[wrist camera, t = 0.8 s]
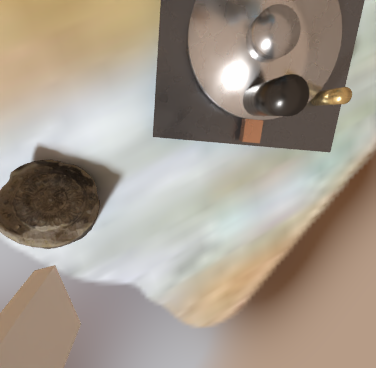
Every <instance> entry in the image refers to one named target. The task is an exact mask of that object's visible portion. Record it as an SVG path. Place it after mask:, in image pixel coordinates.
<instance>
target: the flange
mask: <svg viewBox="0 0 376 368" xmlns="http://www.w3.org/2000/svg"><path fill="white" fill-rule="evenodd" d="M341 39H342V16H341V10H340V5H339V2H338V0H196V1H195V4H194V7H193V10H192V14H191V18H190V22H189V28H188V55H189V60H190V64H191V68H192V71H193V73H194V76H195V78H196V80H197V82H198V84H199V86H200V87H201V89H202V90H203V92H204V93H205V94H206V95H207V97H208V98H209V99H210V100H211V101H212V102H213V103H214V104H216V105H217V106H218V107H219V108H221V109H222V110H224V111H226V112H228V113H230V114H232V115H234V116H237V117H240V118H245V119H242V124H241V131H240V138H239V141H242V142H250V143H260V139H261V133H262V127H263V120H268V119H275V118H279V117H283V116H293V115H296V114H298V113H299V112H301V111H302V110H303V109H304V108H305V106H306V105H307V103H308V102H309V101H310V100H311V99H312V98H313V97H315V96H316V94H317V93H318V92H319V91H320V90H321V89H322V87H323V86H324V84H325V83H326V81H327V80H328V78H329V76H330V75H331V73H332V71H333V69H334V66H335V64H336V61H337V58H338V54H339V51H340V46H341Z"/></svg>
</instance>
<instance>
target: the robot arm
mask: <svg viewBox="0 0 376 368" xmlns="http://www.w3.org/2000/svg"><path fill="white" fill-rule="evenodd" d="M80 325H81V323H80V320H79V318H78V316H77V314H76V311H75V309H74V307H73V305H72V302H71V300H70V298H69V296H68V294H67V291H66V289H65V287H64V284H63V282H62V280H61V278H60V275H59V273H58V271H57V269H56V266H55V265H54V266H50V267H46V268H42V269H38V270H35V271H34V272H33V273H32V275H31V276H30V277H29V278H28V280H27V281H26V282H25V283H24V284H23V286H22V287H21V288H20V290H19V291H18V292H17V293H16V294H15V295H14V297H13V298H12V299H11V300H10V302H9V303H8V304H7V305H6V307H5V308H4V309H3V310H2V312H1V313H0V368H64V366H65V363H66V361H67V358H68V356H69V353H70V350H71V348H72V345H73V343H74V340H75V338H76V335H77V333H78V330H79V328H80Z"/></svg>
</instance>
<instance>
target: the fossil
mask: <svg viewBox="0 0 376 368" xmlns="http://www.w3.org/2000/svg"><path fill="white" fill-rule="evenodd" d="M99 206H100V202H99V198H98V194H97V188H96V184H95V181H94V179H93V178H92V177H91V176H90V175H89V174H88V173H87V172H85V171H84V170H83V169H82V168H80V167H78V166H76V165H71V164H64V163H61V162H60V161H54V160H40V161H34V162H31V163H27V164H25V165H22V166H20V167H19V168H17V169H15V170H14V171H13V172H11V175H10V179H9V181H8V182H7V184H6V185H4V186H3V187H2V189H1V190H0V232H1V233H2V234H3V235H5V236H6V237H8V238H10V239H11V240H13V241H15V242H17V243H19V244H23V245H27V246H31V247H40V248H45V249H51V248H57V247H61V246H64V245H67V244H70V243H72V242H75V241H76V240H79V239H81V238H83V237H84V236H85V235H86V234H87V233H88V232H89V231H90V230H91V229H92V227H93V224H94V221H95V219H96V217H97V215H98V211H99Z"/></svg>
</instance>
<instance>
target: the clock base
mask: <svg viewBox="0 0 376 368" xmlns="http://www.w3.org/2000/svg"><path fill="white" fill-rule="evenodd" d="M195 1H196V0H161V8H160V25H159V41H158V58H157V75H156V92H155V109H154V126H153V137H160V138H172V139H183V140H195V141H206V142H218V143H229V144H241V145H252V146H264V147H276V148H287V149H299V150H310V151H322V152H330V151H331V147H332V142H333V138H334V133H335V129H336V124H337V120H338V116H339V111H340V107H341V104H346V103H348V102H349V101H350V99H351V97H352V91H351V90H350V89H349V88H348V87H345V84H346V80H347V76H348V71H349V67H350V62H351V58H352V53H353V49H354V44H355V40H356V36H357V31H358V27H359V22H360V18H361V13H362V9H363V4H364V0H338V2H339V5H340V10H341V16H342V39H341V46H340V51H339V54H338V58H337V61H336V64H335V66H334V69H333V71H332V73H331V75H330V76H329V78H328V80H327V81H326V83H325V84H324V86H323V87H322V89H321V90H320V91H319V92H318V93H317V94H316V96H315V97H313V98H312V99H311V100H310V101H309V102H308V103H307V105H306V106H305V108H304V109H303V110H302V111H301V112H299V113H298V114H296V115H293V116H283V117H279V118H275V119H268V120H263V127H262V133H261V139H260V143H250V142H242V141H239V138H240V131H241V124H242V119H245V118H240V117H237V116H234V115H232V114H230V113H228V112H226V111H224V110H222V109H221V108H219V107H218V106H217V105H216V104H214V103H213V102H212V101H211V100H210V99H209V98H208V97H207V95H206V94H205V93H204V92H203V90H202V89H201V87H200V86H199V84H198V82H197V80H196V78H195V76H194V73H193V71H192V68H191V64H190V60H189V55H188V28H189V22H190V18H191V14H192V10H193V7H194V4H195Z"/></svg>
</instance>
